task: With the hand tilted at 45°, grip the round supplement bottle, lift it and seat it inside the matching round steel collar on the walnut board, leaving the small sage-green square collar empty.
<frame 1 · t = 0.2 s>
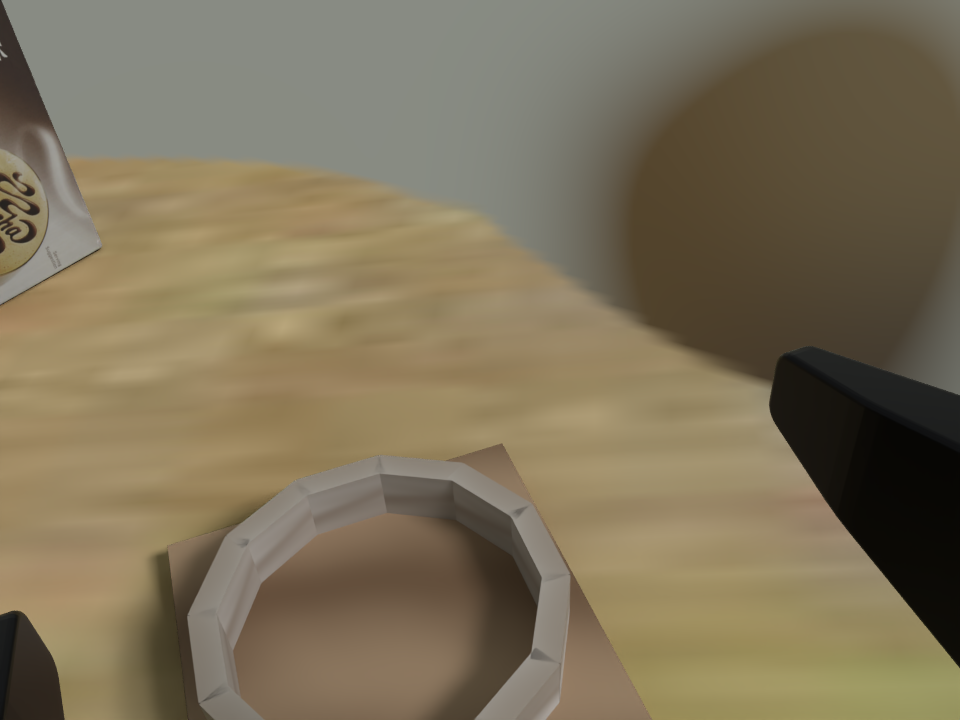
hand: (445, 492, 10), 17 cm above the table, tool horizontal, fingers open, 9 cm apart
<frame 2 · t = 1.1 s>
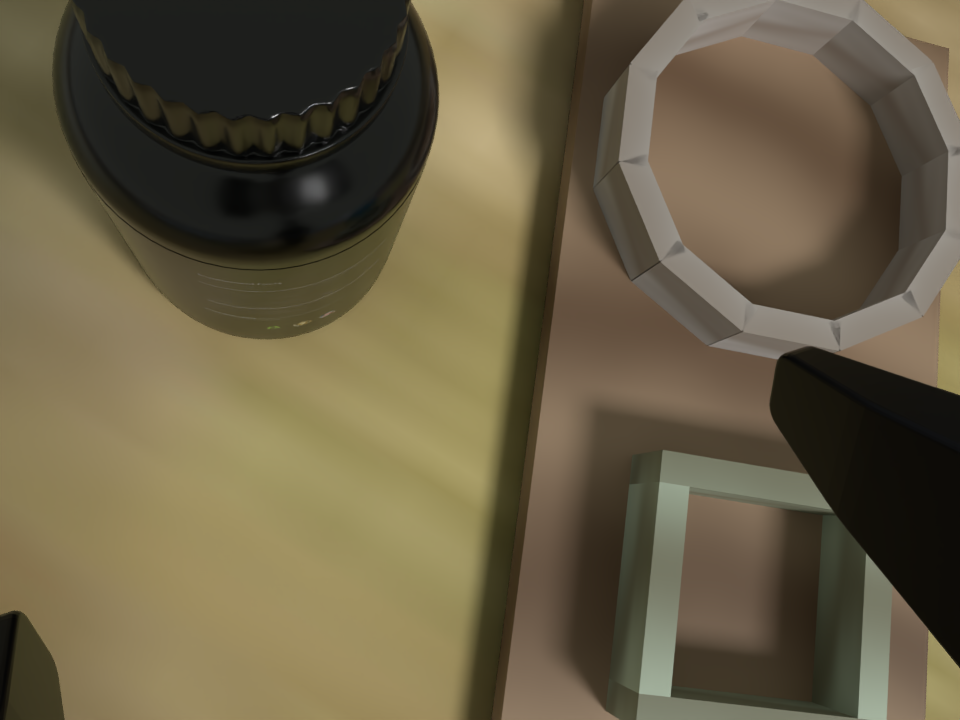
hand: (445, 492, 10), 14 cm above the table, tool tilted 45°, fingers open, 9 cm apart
supplement bottle: (265, 225, 24), on the table
socket board: (733, 383, 26), on the table
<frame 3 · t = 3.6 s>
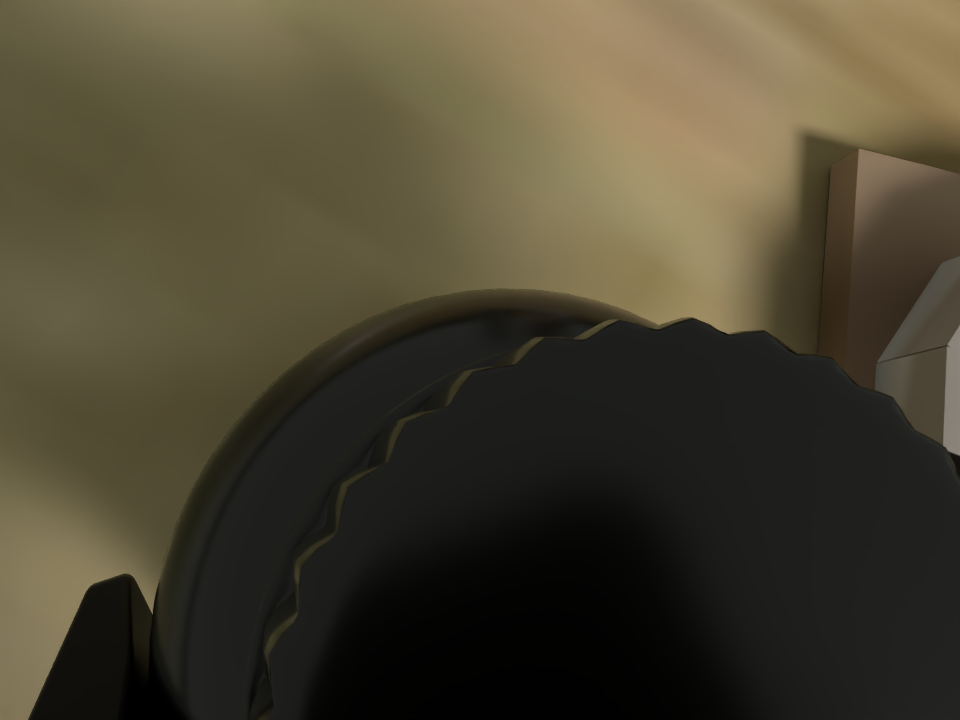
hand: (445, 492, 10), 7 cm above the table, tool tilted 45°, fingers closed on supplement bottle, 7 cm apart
supplement bottle: (407, 571, 17), on the table, touching gripper
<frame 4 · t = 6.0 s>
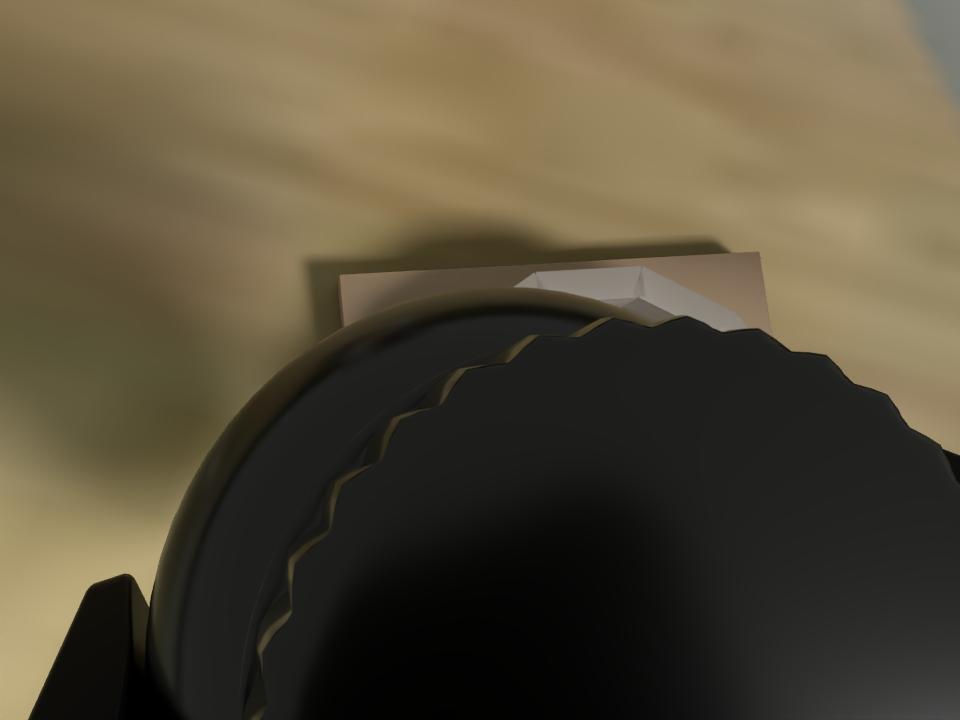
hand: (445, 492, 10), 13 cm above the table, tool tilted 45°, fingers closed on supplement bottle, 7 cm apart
supplement bottle: (405, 569, 17), point 6 cm above the table, touching gripper
socket board: (605, 711, 23), on the table
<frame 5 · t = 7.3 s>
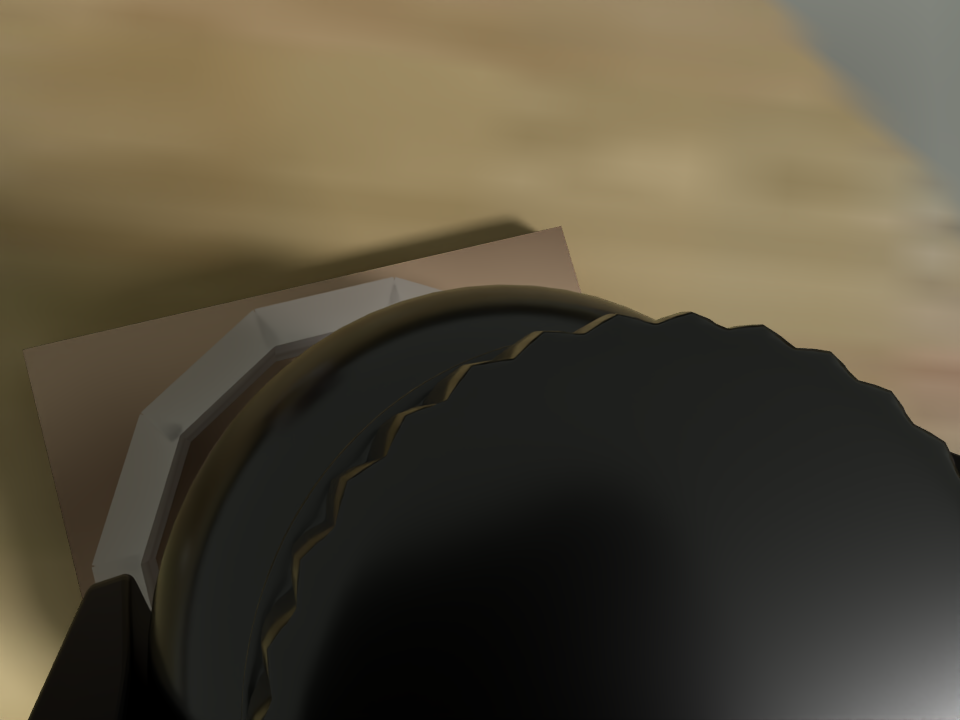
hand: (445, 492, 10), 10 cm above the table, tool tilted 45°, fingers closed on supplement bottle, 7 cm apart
supplement bottle: (406, 568, 17), point 3 cm above the table, touching gripper
when the fingers open (8 cm above the table, at t = 8.2 s): supplement bottle stays where it is, resting on socket board.
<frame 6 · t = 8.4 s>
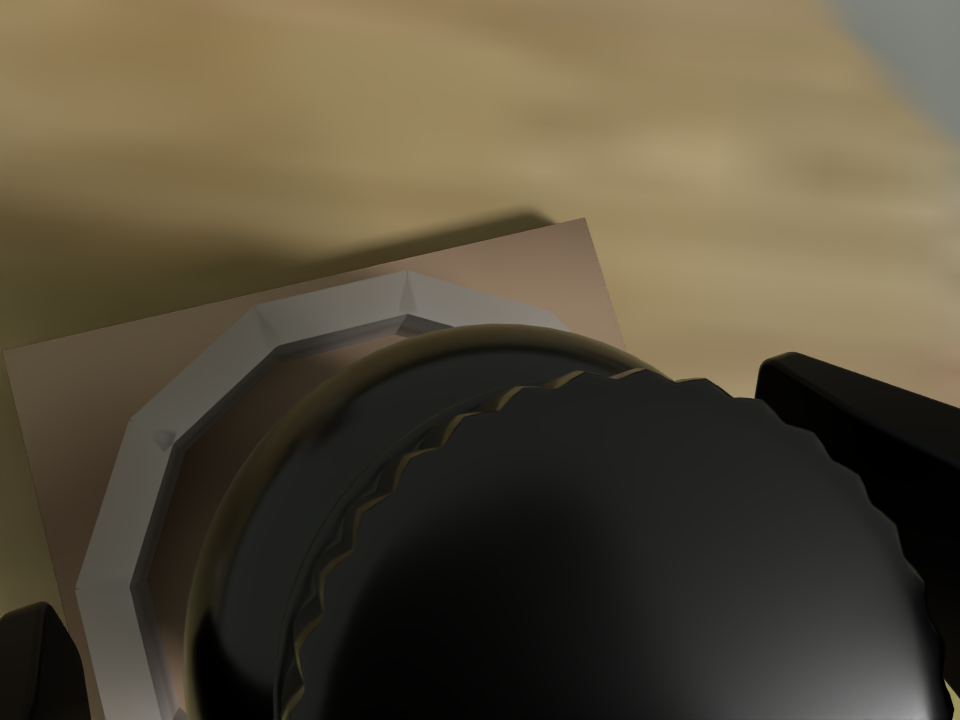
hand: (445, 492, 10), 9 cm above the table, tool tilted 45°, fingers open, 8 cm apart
supplement bottle: (407, 572, 18), point 1 cm above the table, touching socket board
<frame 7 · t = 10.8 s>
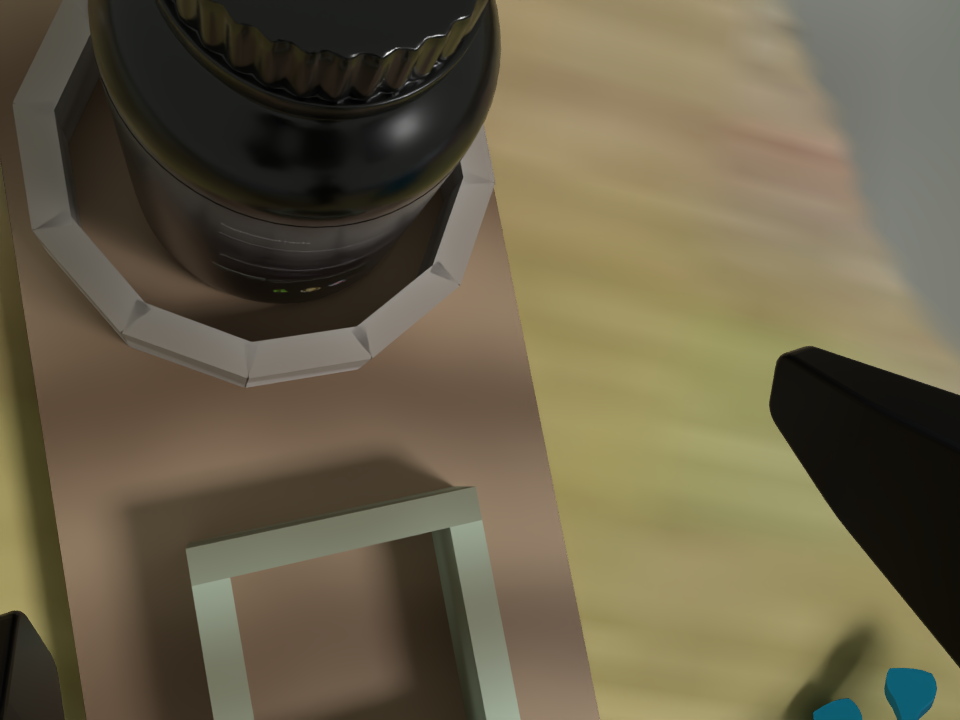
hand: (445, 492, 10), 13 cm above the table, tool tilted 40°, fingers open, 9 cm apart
supplement bottle: (274, 183, 23), point 1 cm above the table, touching socket board
socket board: (303, 409, 23), on the table
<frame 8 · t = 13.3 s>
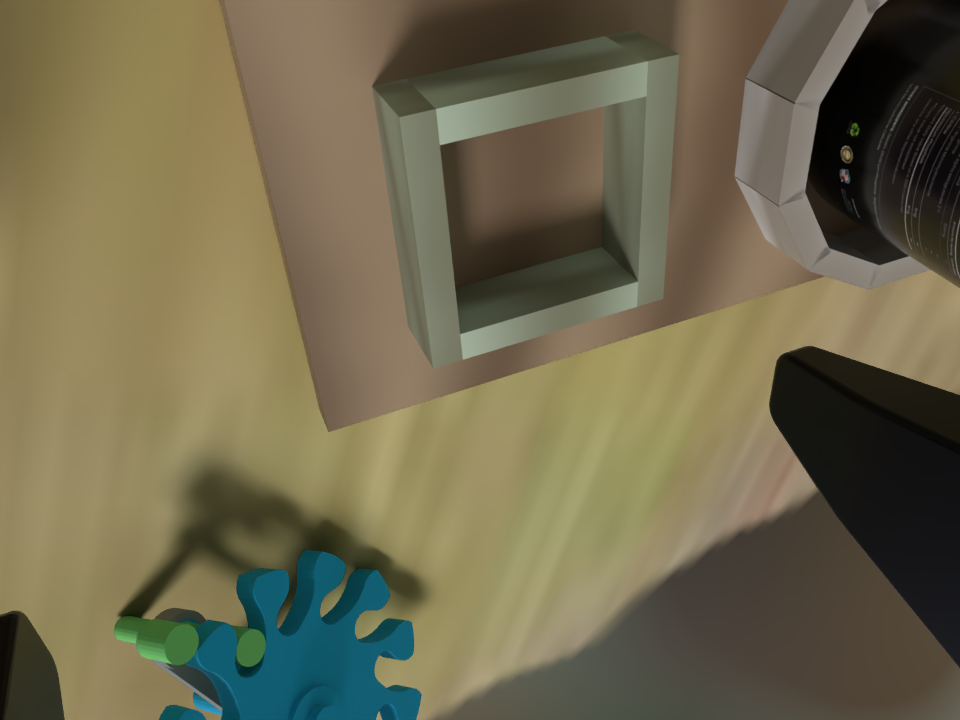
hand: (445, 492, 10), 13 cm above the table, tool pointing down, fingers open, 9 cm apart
supplement bottle: (884, 94, 26), point 1 cm above the table, touching socket board
socket board: (697, 121, 25), on the table
gear: (266, 612, 30), on the table
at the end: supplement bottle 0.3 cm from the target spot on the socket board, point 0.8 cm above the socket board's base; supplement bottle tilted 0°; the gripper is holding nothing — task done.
